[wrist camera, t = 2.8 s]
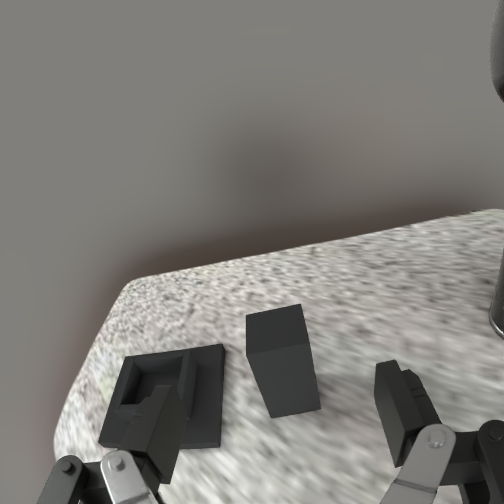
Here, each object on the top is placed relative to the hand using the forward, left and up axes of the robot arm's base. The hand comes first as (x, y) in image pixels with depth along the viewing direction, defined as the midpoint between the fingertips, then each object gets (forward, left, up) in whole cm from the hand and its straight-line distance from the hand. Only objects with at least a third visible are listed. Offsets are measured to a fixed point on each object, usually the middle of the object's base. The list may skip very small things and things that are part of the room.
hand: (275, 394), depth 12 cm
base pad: (-3, -21, -18) cm, 27 cm away
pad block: (-10, -8, -18) cm, 22 cm away
